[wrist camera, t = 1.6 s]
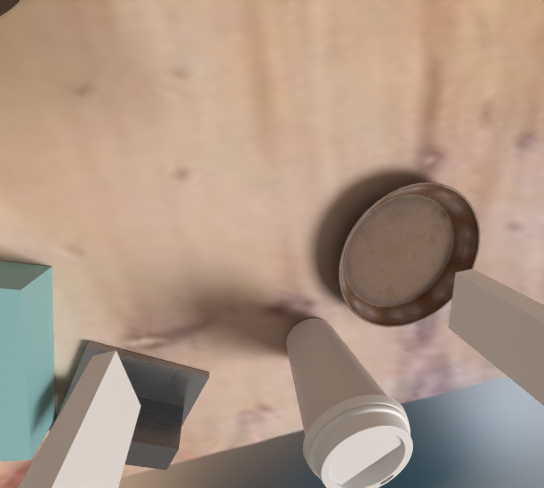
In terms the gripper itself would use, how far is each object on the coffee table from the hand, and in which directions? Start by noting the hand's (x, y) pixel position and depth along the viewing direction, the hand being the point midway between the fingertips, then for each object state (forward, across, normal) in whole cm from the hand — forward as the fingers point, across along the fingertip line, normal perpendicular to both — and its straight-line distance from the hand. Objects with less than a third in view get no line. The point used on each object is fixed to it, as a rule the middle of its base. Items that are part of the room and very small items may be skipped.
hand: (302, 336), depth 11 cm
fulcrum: (+20, -18, -21) cm, 34 cm away
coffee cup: (+20, +5, -18) cm, 27 cm away
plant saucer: (+20, +17, -8) cm, 28 cm away
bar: (+20, -25, -10) cm, 34 cm away
